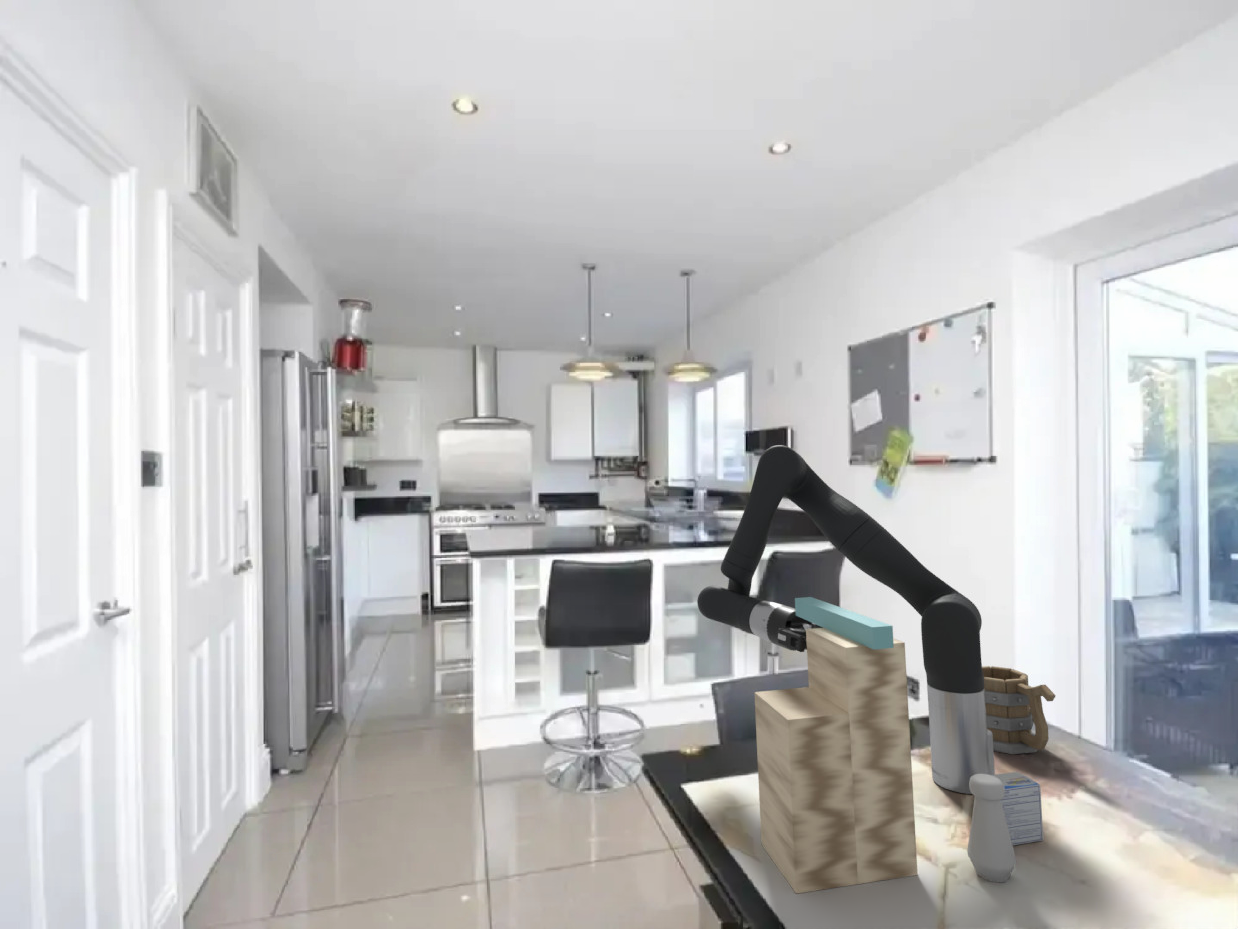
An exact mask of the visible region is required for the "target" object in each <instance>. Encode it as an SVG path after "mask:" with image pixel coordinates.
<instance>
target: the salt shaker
mask: <svg viewBox="0 0 1238 929" xmlns="http://www.w3.org/2000/svg"><path fill="white" fill-rule="evenodd" d="M969 788H970V791H971V793H972V794H971V795H973V796H974V802H973V809H972V816H971V824H970V829H969V835H968V836H969V837H968V843H967V850H966V852H967V855H968V858H969V859H970V862H971V863H972V864H971V865H973V868H974V869H975V873H976V874H977V875H978V876H980V877H982V878H983V879H985V880H988V881H989V882H995V883H997V882H998V883H1006V882H1007V881H1008V879H1009V878H1010V877H1011V876H1012V875H1011V874H1012V873H1013V871H1014V870H1015V868H1016V862H1017V858H1016V855H1015V851H1014V845H1012V842H1011V838H1010V834H1009V830H1008V826H1007V823H1006V819H1005V815H1004V811H1003V807H1002V803H1001V800H1002V799H1003V798H1004V795H1005V787H1004V784H1003V783H1002V782H1001V781H1000V780H999V779H998V778H996V777H994V776H991V775H988V774H975V775H973V776H971V777H970V781H969Z"/></svg>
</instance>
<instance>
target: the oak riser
mask: <svg viewBox="0 0 1238 929" xmlns="http://www.w3.org/2000/svg"><path fill="white" fill-rule="evenodd" d="M806 640H807V650H806V657H807V658H806V659H807V677H808V678H807V679H808V680H807V681H808V686H805V687H803V686H802V687H796V688H783V689H774V690H764V691H763V690H762V691H755V692H754V693H753V694H754V708H755V710H754V711H755V712H754V713H755V715H754V716H755V730H756V732H755V734H756V736H755V737H756V752H757V753H756V754H757V777H758V779H757V780H758V796H759V798H758V799H759V817H760V818H759V820H760V822H759V823H760V839H761V841H760V842H761V846H762V847H763V848H764V850H765V851H766V853H767V854H768V855H769V857H770V859H772V861H773V862H774V864H775V865H776V867H777V869H778V870H779V871H780V873H781V874H782V876H783V877H784V878H785V880H786V881H787V883H788V884H789V885H790V887H791V888H792V890H793V891H794V893H795V894H802V893H811V892H815V891H822V890H829V889H834V888H840V887H846V886H854V885H860V884H867V883H872V882H880V881H887V880H891V879H898V878H905V877H912V876H913V877H914V876H918V875H919V874H918V856H917V842H916V841H917V838H916V836H917V835H916V822H915V804H914V786H913V785H914V784H913V782H914V781H913V767H912V750H911V749H912V748H911V731H910V716H909V715H910V714H909V695H908V679H907V678H908V676H907V661H906V660H907V658H906V645H905V644H906V643H905V642H904V641H902V640H898V639H896V638H894V637H893V643H894V648H886V649H871V648H869V647H867V646H864V645H862V644H860V643H858V642H855V641H853V640H851V639H848V638H846V637H844V636H841V635H839V634H837V633H835V632H832V631H830V630H828V629H825V628H814V629H806Z"/></svg>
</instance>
